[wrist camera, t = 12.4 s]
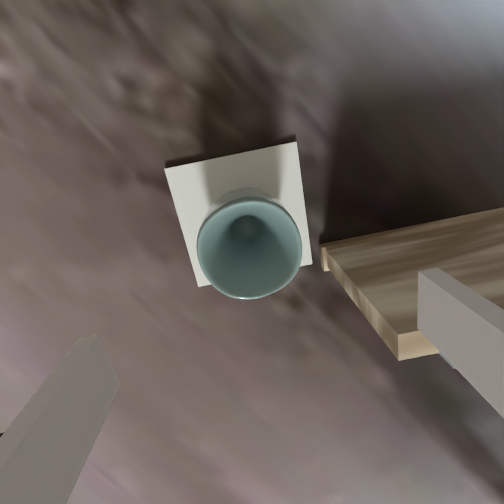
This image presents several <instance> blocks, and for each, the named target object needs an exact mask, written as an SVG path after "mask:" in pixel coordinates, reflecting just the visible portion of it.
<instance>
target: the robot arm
mask: <svg viewBox="0 0 504 504" xmlns="http://www.w3.org/2000/svg"><path fill="white" fill-rule="evenodd" d="M417 329H418V330H419V331H420V332H421V333H422V334H423V335H424V336H425V337H426V338H427V339H428V340H429V341H430V342H431V343H432V344H433V345H434V346H435V347H436V348H437V349H438V350H439V351H440V352H441V354H442V355H443V356H444V357H445V358H446V359H447V360H448V361H449V362H450V363H451V364H452V365H453V366H454V367H455V368H456V369H457V370H458V371H459V372H460V373H461V374H462V375H463V376H464V377H465V378H466V380H467V381H468V382H469V383H470V384H471V385H472V386H473V387H474V388H475V389H476V390H477V391H478V392H479V393H480V394H481V395H482V396H483V397H484V398H485V399H486V400H487V401H488V402H489V403H490V404H491V405H492V407H493V408H494V409H495V410H496V411H497V412H498V413H499V414H500V415H501V416H502V417H503V418H504V310H503V309H502V308H500V307H499V306H497V305H495V304H494V303H492V302H491V301H489V300H488V299H486V298H484V297H483V296H481V295H480V294H478V293H477V292H475V291H473V290H472V289H470V288H469V287H467V286H466V285H464V284H462V283H461V282H459V281H458V280H456V279H455V278H453V277H451V276H450V275H448V274H447V273H445V272H444V271H442V270H440V269H439V268H433V269H428V270H423V271H418V312H417ZM120 386H121V384H120V382H119V380H118V378H117V376H116V373H115V371H114V369H113V367H112V365H111V363H110V361H109V359H108V356H107V354H106V352H105V350H104V348H103V346H102V344H101V342H100V339H99V337H98V335H97V334H96V335H91V336H86V337H81V338H78V340H77V341H76V342H75V343H74V345H73V346H72V347H71V348H70V350H69V351H68V352H67V353H66V355H65V356H64V357H63V359H62V360H61V361H60V362H59V364H58V365H57V366H56V367H55V369H54V370H53V371H52V373H51V374H50V375H49V376H48V378H47V379H46V380H45V381H44V383H43V384H42V385H41V387H40V388H39V389H38V390H37V392H36V393H35V394H34V395H33V397H32V398H31V399H30V400H29V402H28V403H27V404H26V406H25V407H24V408H23V409H22V411H21V412H20V413H19V414H18V416H17V417H16V418H15V420H14V421H13V422H12V423H11V425H10V426H9V427H8V428H7V430H6V431H5V432H4V433H1V434H0V504H66V503H67V500H68V498H69V496H70V494H71V492H72V490H73V487H74V485H75V483H76V481H77V479H78V477H79V475H80V472H81V470H82V468H83V466H84V464H85V462H86V459H87V457H88V455H89V453H90V451H91V449H92V447H93V444H94V442H95V440H96V438H97V436H98V434H99V431H100V429H101V427H102V425H103V423H104V421H105V419H106V416H107V414H108V412H109V410H110V408H111V406H112V403H113V401H114V399H115V397H116V395H117V393H118V391H119V388H120Z"/></svg>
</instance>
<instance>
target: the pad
mask: <svg viewBox="0 0 504 504" xmlns="http://www.w3.org/2000/svg"><path fill="white" fill-rule="evenodd" d="M164 170H165V173H166V177H167V180H168V183H169V187H170V190H171V194H172V197H173V201H174V204H175V208H176V211H177V214H178V218H179V221H180V225H181V228H182V232H183V235H184V239H185V242H186V245H187V249H188V252H189V256H190V259H191V263H192V266H193V270H194V273H195V276H196V280H197V283H198V287H200V286H205V285H210V284H211V283H210V282H209V281H208V279H207V278H206V277H205V275H204V273H203V271H202V269H201V267H200V264H199V261H198V256H197V249H196V246H197V236H198V232H199V229H200V226H201V223H202V221H203V218H204V216H205V214H206V213H207V211H208V209H209V208H210V206H211V205H212V204H213V203H214V202H215V201H216V200H217V199H218V198H219V197H221V196H222V195H224V194H225V193H227V192H229V191H232V190H234V189H238V188H244V187H254V188H259V189H262V190H265V191H267V192H269V193H270V194H272V195H273V196H275V197H276V198H277V199H278V200H279V201H280V202H281V203H282V205H283V206H284V207H285V208H286V209H287V210H288V212H289V213H290V215H291V216H292V218H293V220H294V221H295V223H296V225H297V227H298V230H299V233H300V236H301V241H302V259H301V264H300V266H305V265H310V264H312V257H311V249H310V241H309V234H308V226H307V218H306V210H305V203H304V195H303V187H302V180H301V172H300V164H299V156H298V149H297V142H292V143H287V144H282V145H277V146H272V147H267V148H263V149H258V150H253V151H248V152H243V153H238V154H233V155H229V156H224V157H219V158H214V159H209V160H204V161H200V162H195V163H190V164H185V165H180V166H175V167H170V168H166V169H164Z"/></svg>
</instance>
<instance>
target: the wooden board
mask: <svg viewBox="0 0 504 504" xmlns="http://www.w3.org/2000/svg"><path fill="white" fill-rule="evenodd" d="M319 251H320V259H321V267H322V269H323V270H324V271H329V270H330V271H331V272H332V274H333V275H334V276H335V278H336V279H337V280H338V282H339V283H340V284H341V286H342V287H343V288H344V290H345V291H346V292H347V294H348V295H349V296H350V297H351V299H352V300H353V301H354V303H355V304H356V305H357V307H358V308H359V309H360V311H361V312H362V313H363V315H364V316H365V317H366V319H367V320H368V321H369V322H370V324H371V325H372V326H373V328H374V329H375V330H376V332H377V333H378V334H379V336H380V337H381V338H382V340H383V341H384V342H385V344H386V345H387V346H388V348H389V349H390V350H391V351H392V353H393V354H394V355H395V357H396V358H397V359H398V361H400V360H405V359H410V358H415V357H420V356H425V355H430V354H435V353H440V351H439V350H438V349H437V348H436V347H435V346H434V345H433V344H432V343H431V342H430V341H429V340H428V339H427V338H426V337H425V336H424V335H423V334H422V333H421V332H420V331H419V330H418V329H417V312H418V271H423V270H428V269H433V268H439V269H440V270H442V271H444V272H445V273H447V274H448V275H450V276H451V277H453V278H455V279H456V280H458V281H459V282H461V283H462V284H464V285H466V286H467V287H469V288H470V289H472V290H473V291H475V292H477V293H478V294H480V295H481V296H483V297H484V298H486V299H488V300H489V301H491V302H492V303H494V304H495V305H497V306H499V307H500V308H502V309H503V310H504V207H502V208H497V209H492V210H487V211H482V212H477V213H472V214H467V215H462V216H457V217H452V218H447V219H442V220H437V221H432V222H428V223H423V224H418V225H413V226H408V227H403V228H398V229H393V230H388V231H383V232H378V233H373V234H368V235H363V236H358V237H353V238H348V239H343V240H338V241H333V242H329V243H324V244H319Z"/></svg>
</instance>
